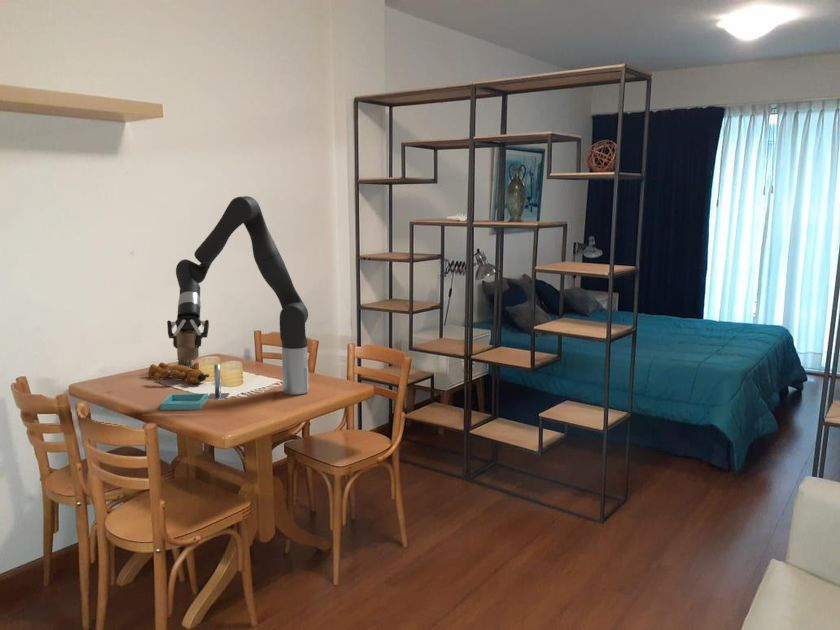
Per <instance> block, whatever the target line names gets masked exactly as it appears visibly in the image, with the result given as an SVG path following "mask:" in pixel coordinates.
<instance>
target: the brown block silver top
mask: <svg viewBox="0 0 840 630" xmlns="http://www.w3.org/2000/svg"><path fill="white" fill-rule="evenodd" d="M213 373H214V374H213V375H214V393H213V392H212V393H208V400H225V399H227V398H228V397H229V395H230V392H224V393H223V392H222V387H221V386H222V385H221V366H220V364H219V363H215V364H213Z"/></svg>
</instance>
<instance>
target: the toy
mask: <svg viewBox="0 0 840 630" xmlns="http://www.w3.org/2000/svg"><path fill="white" fill-rule="evenodd" d="M199 364H200V363H199V362H195V363H194V364H193V366H192V365H191V366H192V367H193V369H192V368H190V367H187V366H183V365H178V364H174V365H169V364H166V363H165V362H160V363H159V364H158V366H156V364H154V363H153V364H150V366H149V368H148V376H149V377H148V378H152V377H151V376H153V379H154V380H156V381H158V382H160V378H168V377H171V378H173V379H175V380H177V381H186V383H187V384H188V385H190V386H191V384H192V385H197V384H199V383H202V382H204V381H206V379H207V378H209V377H210V374H209V373H206V374H205V373H204V372H203V371H202V370H201V369H200V370H199ZM196 383H197V384H196Z"/></svg>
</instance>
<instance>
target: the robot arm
mask: <svg viewBox="0 0 840 630" xmlns="http://www.w3.org/2000/svg"><path fill="white" fill-rule="evenodd" d="M242 225H244V226H245V229H246V231H247V233H248V235H249V237H250V242H251V248H252V255H253V259H254V262H255V264H256V267H257V268H258V270H259V272H260V274H261V276H262V277H263V279H264V281H265V282H266V283H267V284H268V285H267V286H269V287H270V288H271V289H272V290H273V292H274V294H275V295H276V297H277V298H278V302H279V304H280V306H281V311H280V313H279V336H280V341H281V357H282V358H281V359H282V360H281V361H282V362H281V364H282V370H281V371H282V393H283V394H285V395H292V396H293V395H302V394H303V395H304V394H308V392H309V385H310V384H309V363H308V361H309V360H308V338H307V335H306V323H307V321H308V319H309V312H308V309H307V306H306V305H305V303H304V301H303V300H302V299H301V297H300V295H299V294H298V292H297V290H296V288H295V286H294V283H293V280H292V279H291V276H290V273H289V271H288V269H287V266H286V263H285V262H284V260H283V257H282V255H281V253H280V251H279V249H278V247H277V245H276V243H275V240H274V239H273V236H272V235H271V233H270V230H269V229H268V226H267V223H266V221H265V218H264V215H263V212H262V209H261V206H260V205H259V202H258V201H257V200H256V199H255V198H254V197H251V196H248V195H247V196H246V195H243V196H237V197H234V198H233V199H231V201H230V202H229V204H228V205H227V206H226V209H225V210H224V212H223V214H222V215H221V217H220V219H219V220H218V222H217V224H216V225H214V228H213V229H212V230H211V232H210V233H209V234H208V236H206V238H205V239H204V240H203V241H202V242H201V244H200V245H199V246H198V248H196V250H195V251H194V257H195V259H196V260H197V261H198V262H199V263H200V264H198V263H195V262H194V261H192V260H190V259H186V258H185V259H182V260H180V261H179V262H178V263H177V265H176V268H175V276H176V280H177V283H178V287H179V298H178V302H177V312H178V313H177V314H178V315H176V319H175V321H171V320H170V319H169V320H167V321H166V325H167V334H168V335H167V336H168V338H169V339H173V341H172V345H173V348H175V349H177V333H179V332H181V331H196V332H197V335H198V336H197V348H198V349H199V348H200V347H202V339H203V338H208V335H209V329H210V322H209V321H210V320H208V319H205V320H201V308H202V306H201V286H200V284H201V283H202V282H203V281H204V280H205V279H206V276H207V274H208V271H209V269H210V268H211V266H212V263H213V262H214V261H215V260H216V258H217V257H218V256H219V255H220V253H221V252H222V251H223V250H224V248H225V246H226V244H227V243H228V240H229V239H230V237H231V236H232V234H234V232H235V231H236V230H237V229H238V228H239V227H240V226H242ZM201 325H202V328H203V330H202V331H203V332H201V331H200V328H199V327H201ZM175 326H176V330H175V331H174V332H173V329H174V328H175ZM177 327H178V328H177Z"/></svg>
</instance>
